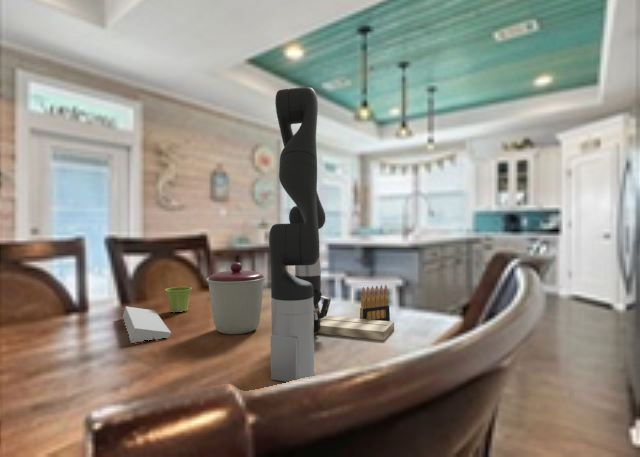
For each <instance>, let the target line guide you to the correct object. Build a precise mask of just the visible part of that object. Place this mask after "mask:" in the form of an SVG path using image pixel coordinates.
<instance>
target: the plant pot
mask: <svg viewBox="0 0 640 457" xmlns="http://www.w3.org/2000/svg"><path fill="white" fill-rule="evenodd" d="M192 289H193V288H192V287H190V286H175V287H169V288H165V289H164V290H165V292H166V295H167V299H168V305H169V311H170V312H171V311H174V312H173V313H175V312H180V311H185V312H187V311H186V310H188V309H189V302H190V294H191V291H192ZM188 311H189V310H188Z"/></svg>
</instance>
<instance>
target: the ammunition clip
mask: <svg viewBox="0 0 640 457" xmlns="http://www.w3.org/2000/svg"><path fill="white" fill-rule="evenodd" d="M359 311H360V312H359V319H369V320H380V321H391V315H390V314H391V313H390V305H389V294H388V286H387V284H384V288H383V285H380V287H379V286H378V285H376V286H375V288H374V286H373V285H372V286H371V289H370V287H369V286H367V287H366V290H365V287H364V286H363V287H362V288H361V299H360V309H359Z"/></svg>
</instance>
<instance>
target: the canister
mask: <svg viewBox="0 0 640 457" xmlns="http://www.w3.org/2000/svg"><path fill="white" fill-rule="evenodd" d="M242 268H243V266H242V264H241V263H240V262H233V263H231V264H230V270H227V271H219V272H215V273H212V274H211V275H210V276H209V277H207V278H206V279H205V281H206V282H207V283H208V290H209V297H210V298H209V300H210V304H211V305H210V307H211V312H212V318H213V324H214V327H215V329H216V331H218V332H219V333H222V334H225V335H239V334H240V335H241V334H242V335H243V334H246V333H250V332H253V331H254V330H257V328H258V326H259V325H260V321H261V320H260V319H261V314H262V313H261V312H262V305H263V304H262V303H263V293H264V292H263V291H264V282H265V281H264V280H266V278H267V277H266V275H265V274H262V273H261V272H259V271H255V270H245V269H244V270H242Z"/></svg>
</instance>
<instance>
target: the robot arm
mask: <svg viewBox="0 0 640 457" xmlns="http://www.w3.org/2000/svg"><path fill="white" fill-rule="evenodd" d="M274 102H275V103H274V104H275V112H276V117H277V122H278V127H279V131H280V135H281V139H282V144H283V149H282V151H281V152H280V157H279V168H278V178H279V182H280V184H281V186H282V188H283V189H284V191H285V192H286V194H287V195H288V196H289V198H291V200H292V201H293V203H294V204H295V206H292V208H291V209H290V210H289V213H288V219H289V220H288V221H289V223H275V224H273V225H272V226H271V227H270V230H269V234H268V235H269V236H268V247H269V249H268V250H269V262H270V263H269V264H270V285H271V286H270V288H271V290H270V291H271V292H270V294H271V299H270V300H271V301H270V302H271V335H270V338H269V339H270V379H271V380H274V381H279V382H284V383H285V382H286V383H289V382H288V381H292V380H297V379H300V378H305V377H310V376H313V377H314V375H315V335H314V332H315V333H317V332H318V331H319V330H320V319H321V318H324V317H326V316H328V312H329V307H330V304H331V300H332V299H331V298H330V297H326V296H324V295H323V294H322V292H321V290H322V288H321V287H322V284H321V283H322V282H321V278H322V275H321V274H322V268H321V267H322V266H321V259H320V232H319V230H320V229H322V228H323V227H324V225H325V223H326V213H325V209H324V207H323V204H322V203H321V199H320V197H319V194H318V190H317V188H318V156H317V127H318V126H317V125H318V110H319V107H318V97H317V93H316V91H315V90H314V89H313V88H312V87H309V86H307V87H306V86H302V87H294V88H293V87H292V88H283V89H279V90H277V92H276V94H275V100H274ZM296 124H297V125H298V124H300V126H299V128H298V130H297V131H296V132H295V134H294V132H293V129H292V125H296ZM287 266H289V267H290V266H291V267H292V266H294V275H293V274H291V273H290V272H289V271H288V270H287V269H286V267H287ZM320 302H321V304H322V306H321V313H320V305H319V303H320ZM314 319H315V320H314ZM317 334H318V333H317Z"/></svg>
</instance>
